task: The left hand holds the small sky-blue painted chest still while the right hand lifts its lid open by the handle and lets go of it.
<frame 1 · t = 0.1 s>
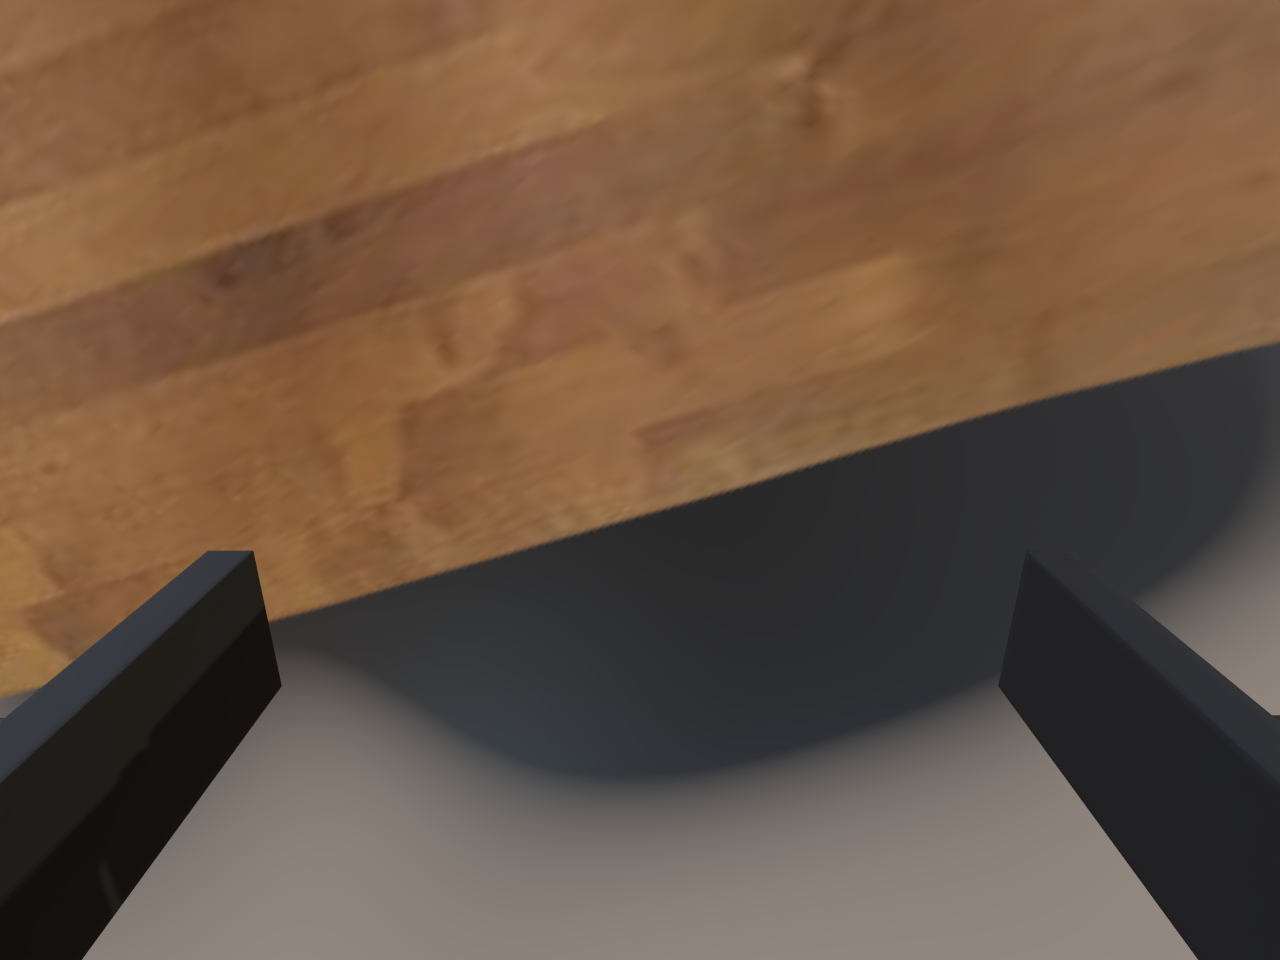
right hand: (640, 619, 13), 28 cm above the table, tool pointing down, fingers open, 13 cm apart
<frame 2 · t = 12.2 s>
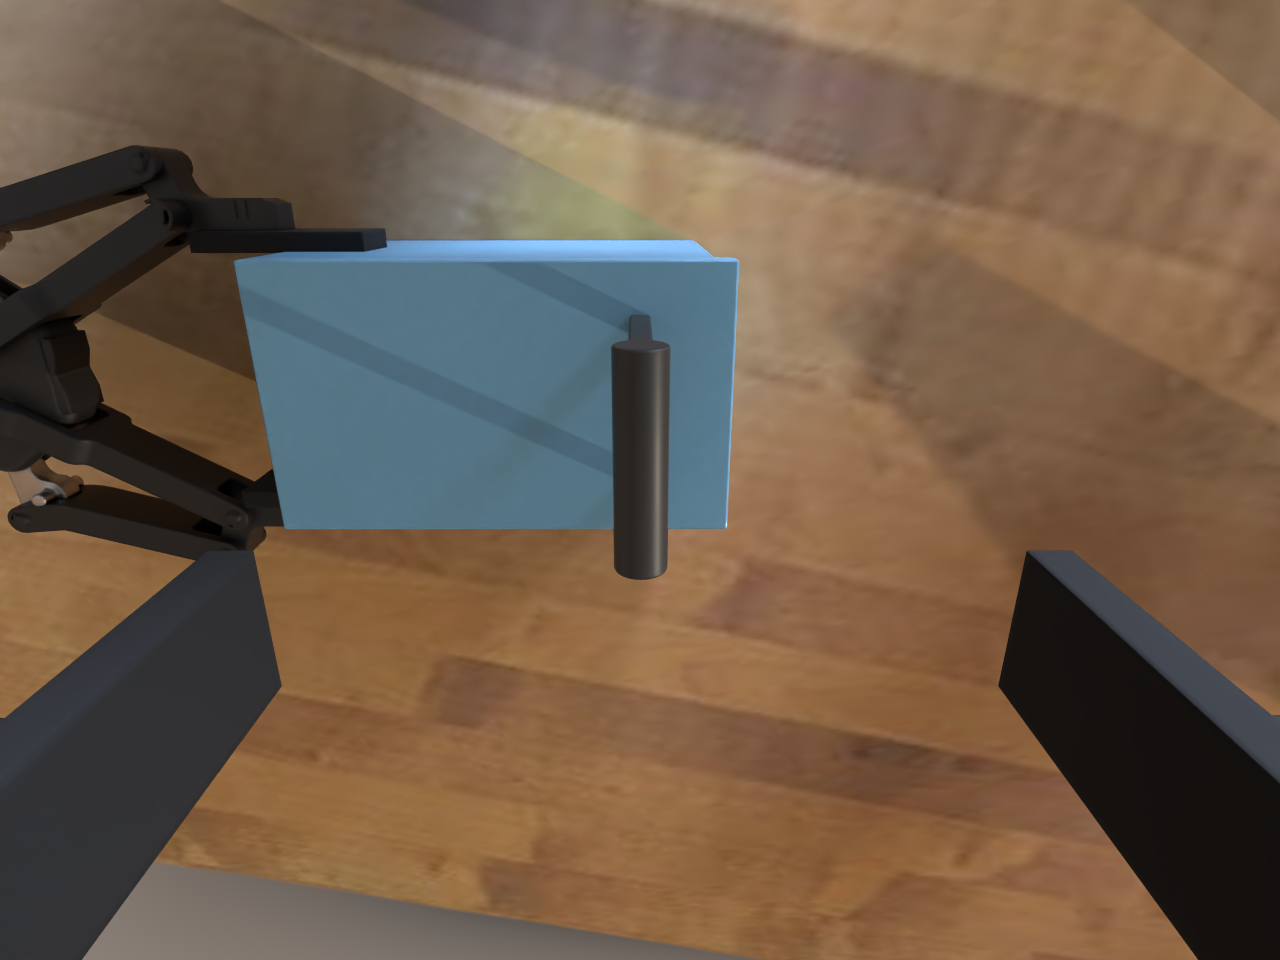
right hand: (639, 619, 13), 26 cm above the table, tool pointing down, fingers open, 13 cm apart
left hand: (391, 371, 31), fingers closed on chest, 10 cm apart
lid: (479, 428, 23), point 14 cm above the table, hinge at 0.0°
chest: (530, 343, 37), on the table, touching left hand
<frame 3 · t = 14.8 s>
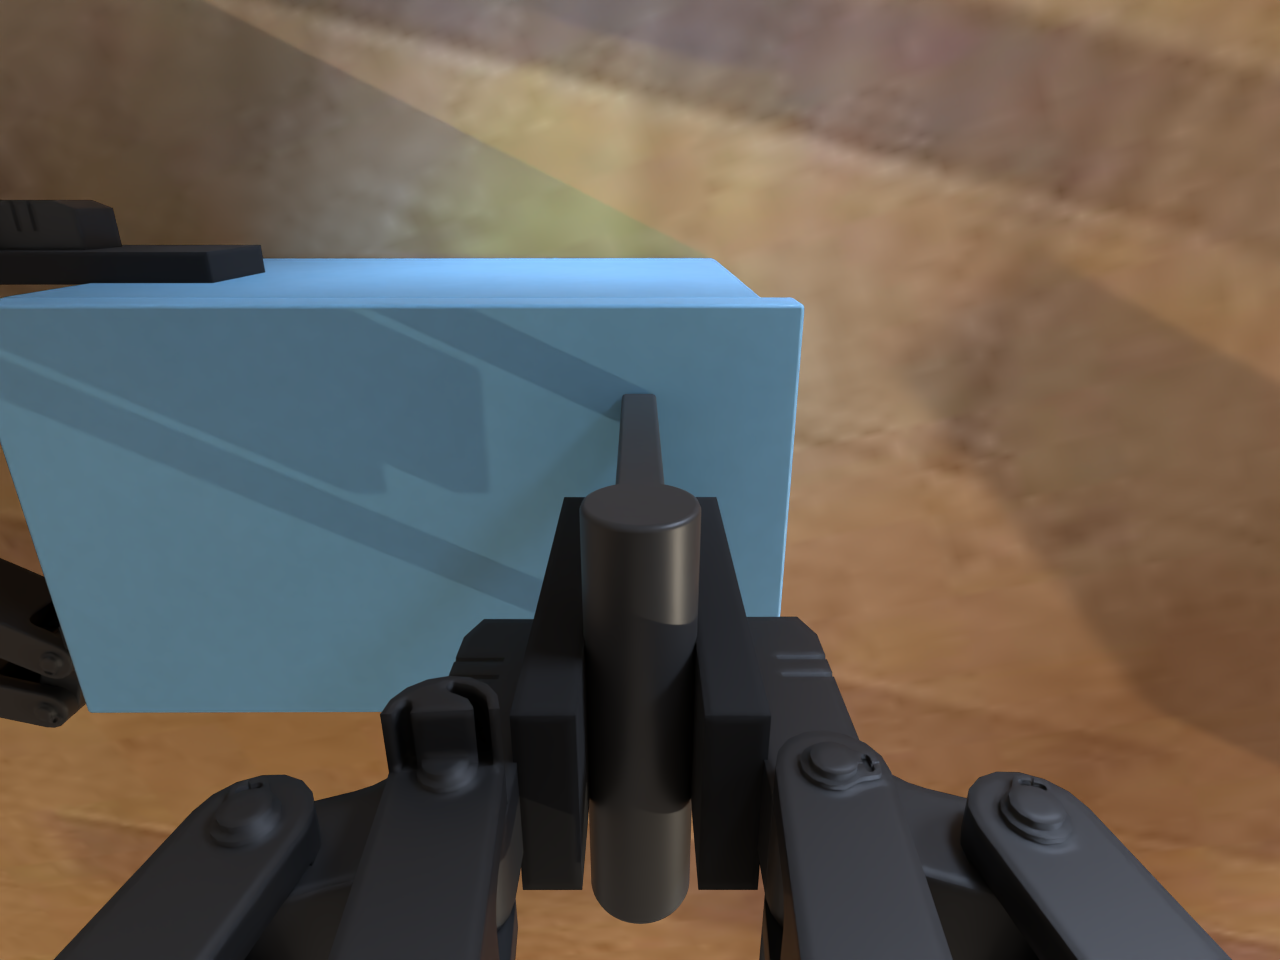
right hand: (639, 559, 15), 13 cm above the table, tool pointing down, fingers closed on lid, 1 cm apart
lid: (362, 598, 13), point 14 cm above the table, hinge at -0.1°, touching right hand
chest: (489, 397, 27), on the table, touching left hand
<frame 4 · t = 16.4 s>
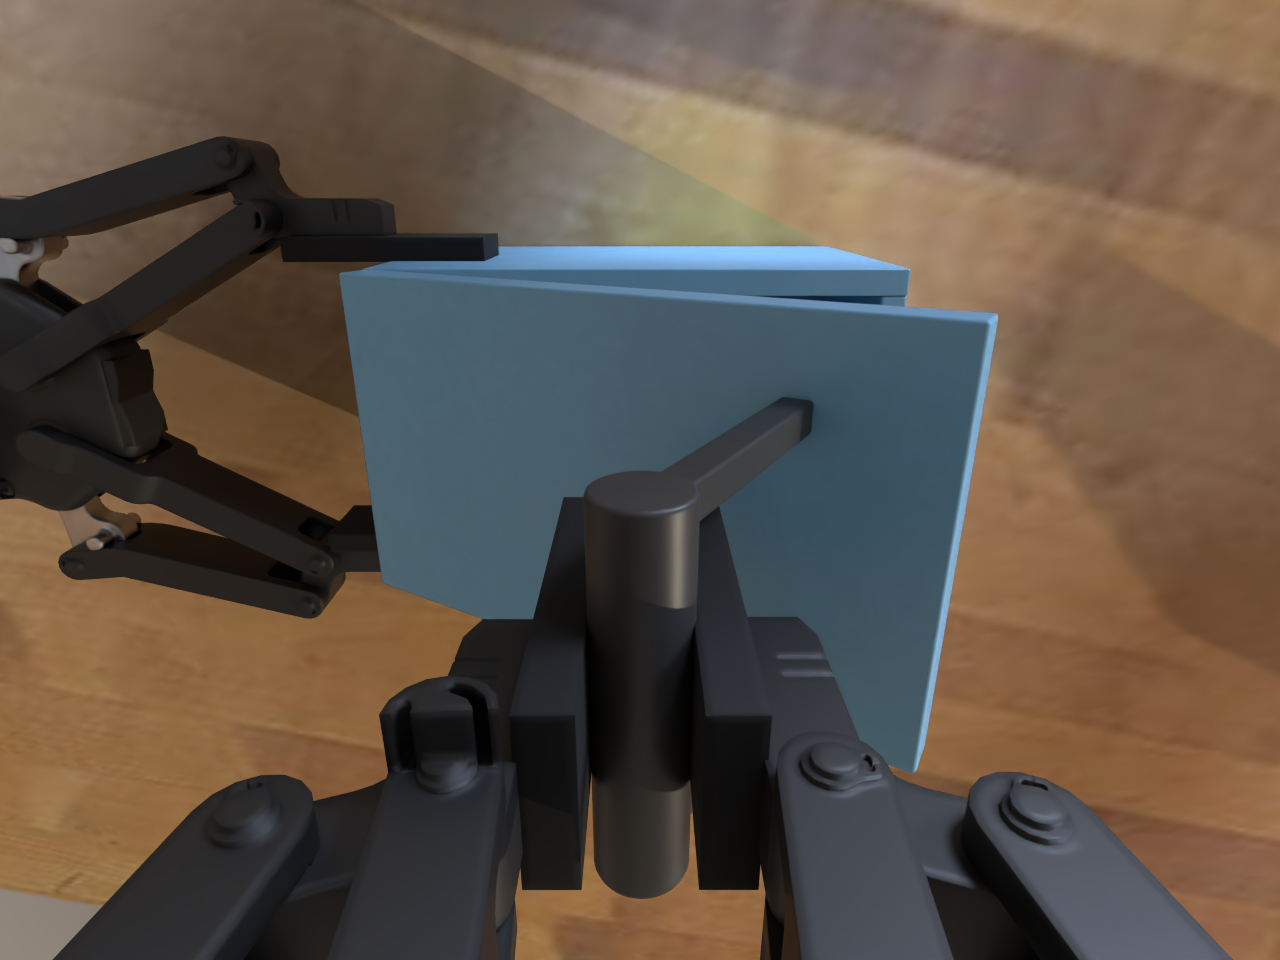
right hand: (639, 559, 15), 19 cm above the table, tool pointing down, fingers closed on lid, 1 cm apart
left hand: (501, 397, 27), fingers closed on chest, 10 cm apart
lid: (515, 537, 16), point 18 cm above the table, hinge at 30.7°, touching right hand
chest: (637, 361, 33), on the table, touching left hand
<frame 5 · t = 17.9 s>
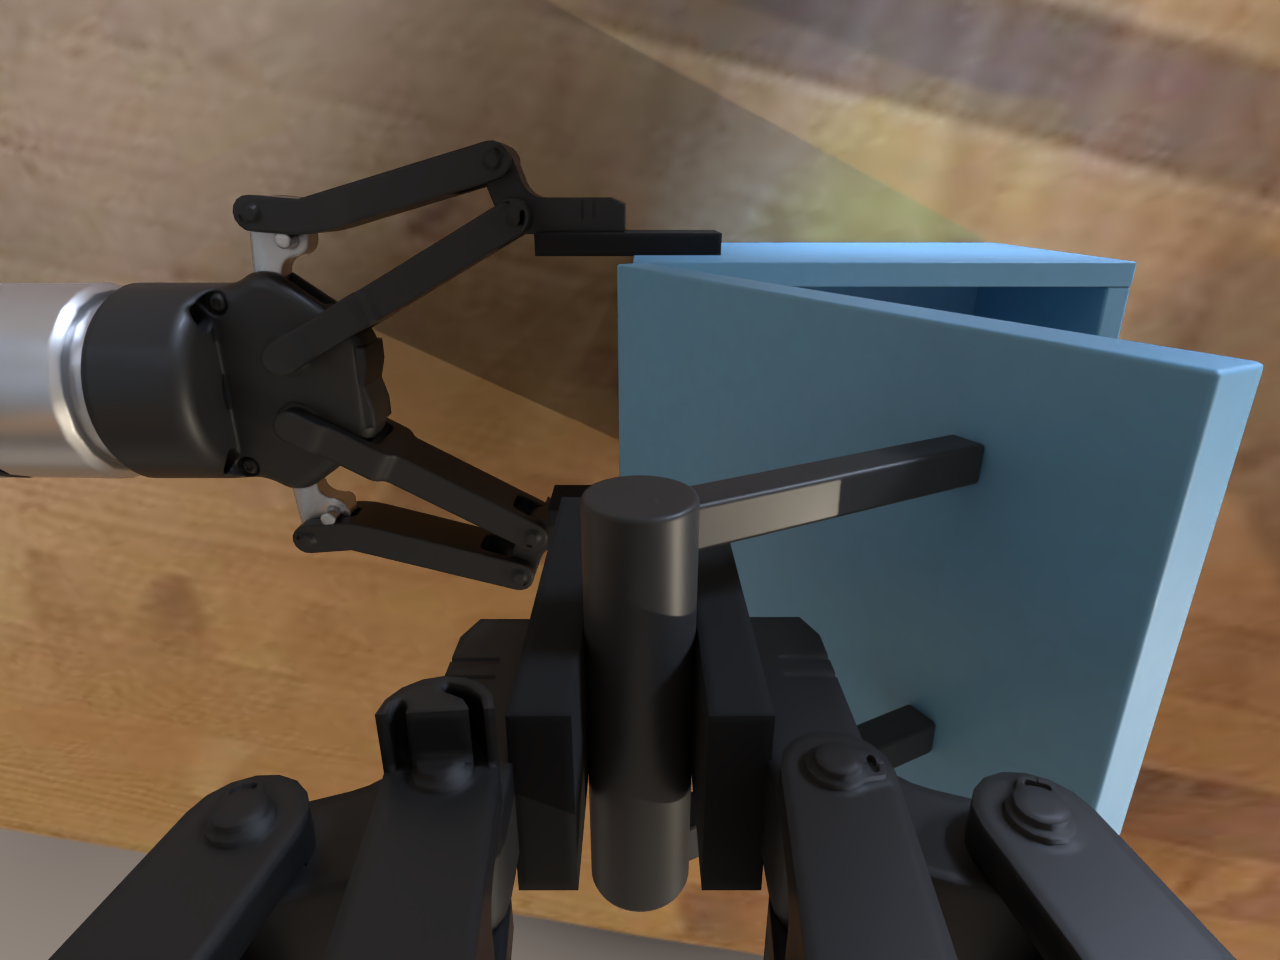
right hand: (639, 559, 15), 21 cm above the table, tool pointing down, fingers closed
left hand: (712, 382, 29), fingers closed on chest, 10 cm apart
lid: (664, 528, 16), point 20 cm above the table, hinge at 62.3°
chest: (805, 351, 35), on the table, touching left hand
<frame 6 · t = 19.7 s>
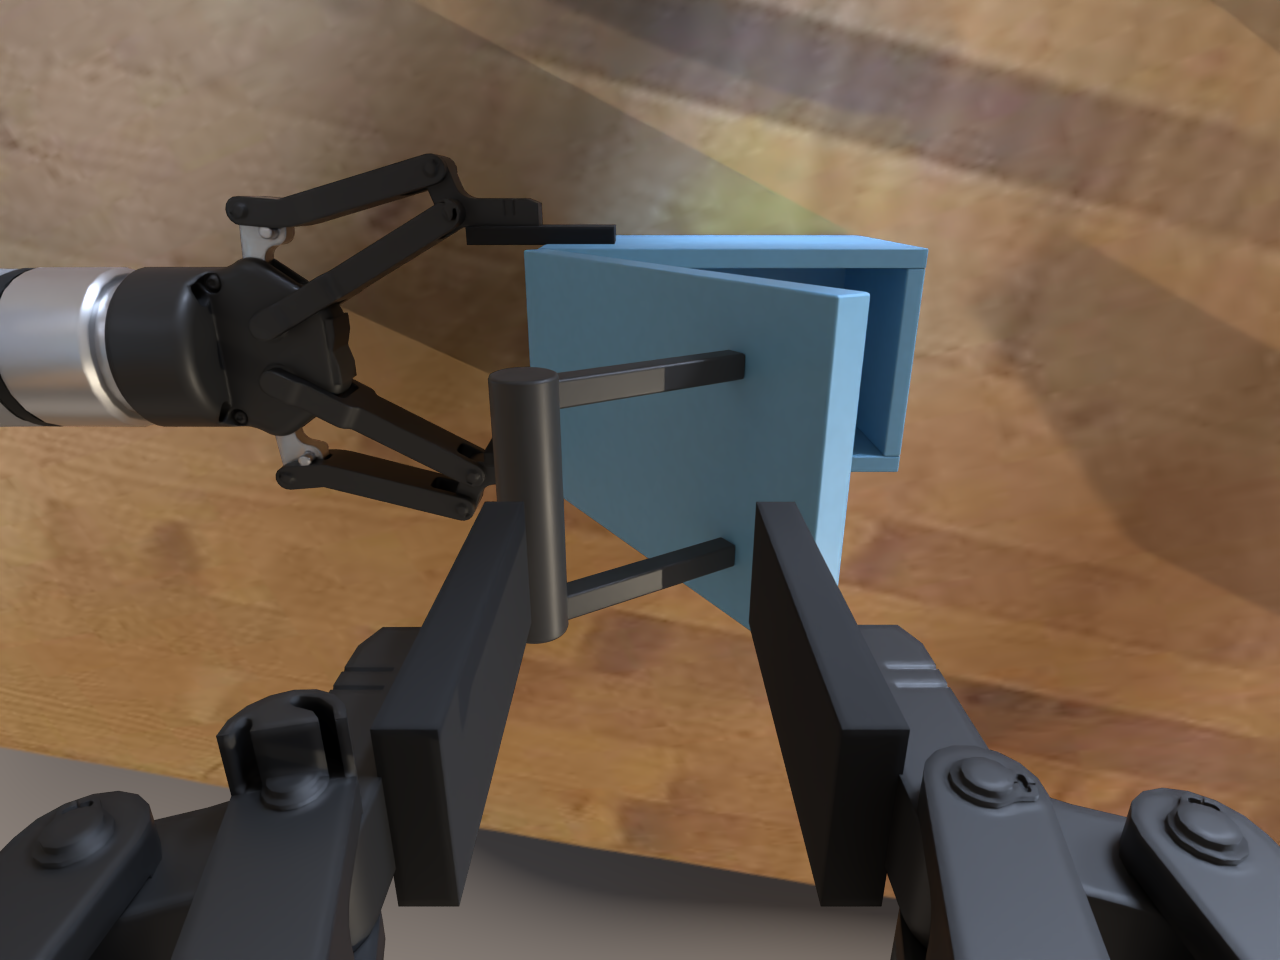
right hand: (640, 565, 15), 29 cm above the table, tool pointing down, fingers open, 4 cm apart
left hand: (616, 348, 36), fingers closed on chest, 10 cm apart
lid: (557, 432, 23), point 20 cm above the table, hinge at 57.4°
chest: (707, 326, 41), on the table, touching left hand
when the left hand's fingers open (6 cm above the table, at t = 22.1 s): chest stays where it is, on the table.
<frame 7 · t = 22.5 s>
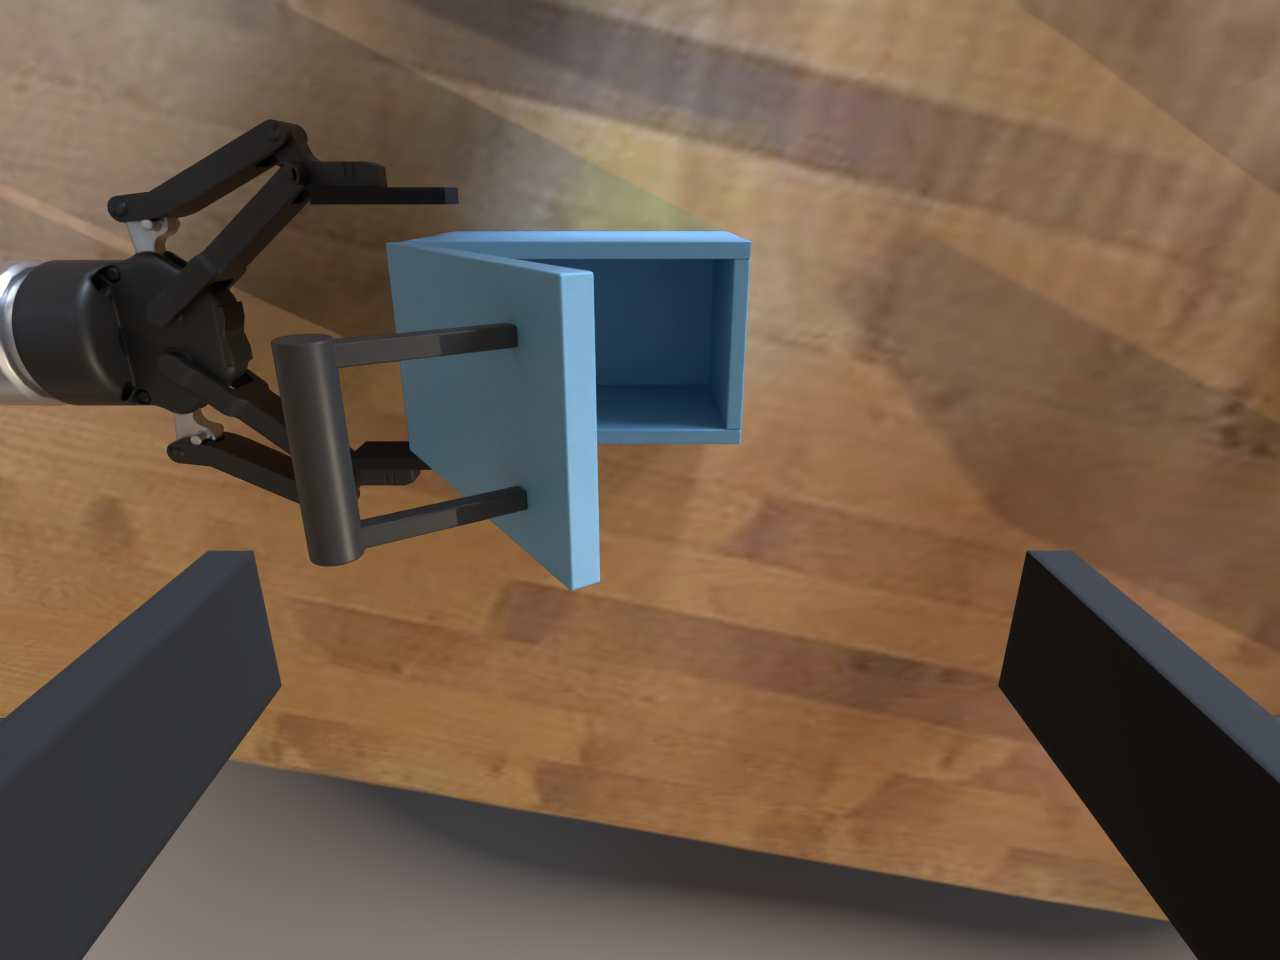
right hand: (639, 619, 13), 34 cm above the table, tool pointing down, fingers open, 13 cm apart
left hand: (464, 333, 39), fingers open, 13 cm apart
lid: (385, 398, 27), point 20 cm above the table, hinge at 56.7°
chest: (592, 315, 45), on the table
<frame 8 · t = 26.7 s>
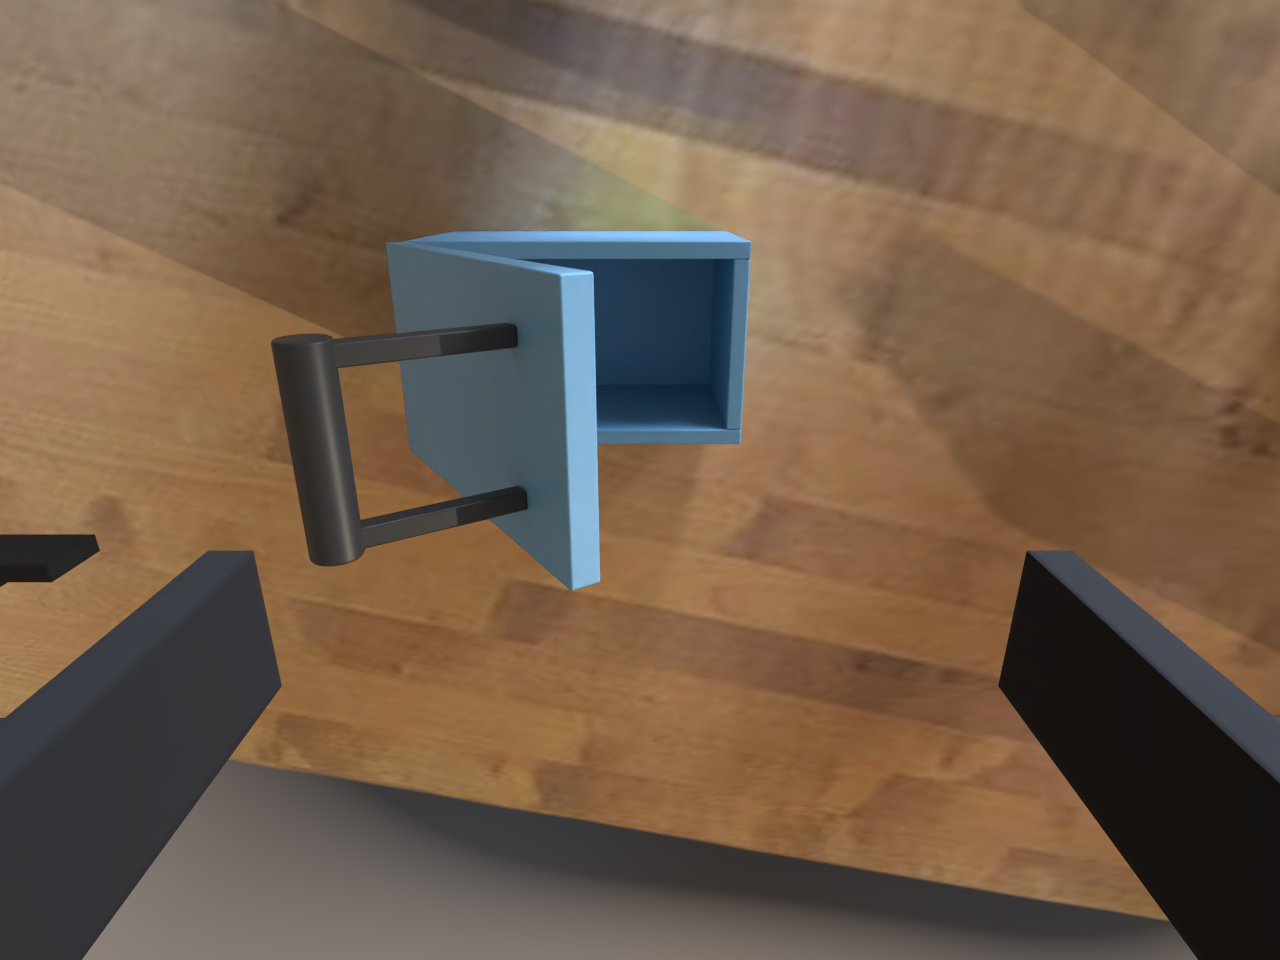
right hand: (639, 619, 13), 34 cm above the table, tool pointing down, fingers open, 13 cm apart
lid: (385, 398, 27), point 20 cm above the table, hinge at 56.7°
chest: (592, 315, 45), on the table
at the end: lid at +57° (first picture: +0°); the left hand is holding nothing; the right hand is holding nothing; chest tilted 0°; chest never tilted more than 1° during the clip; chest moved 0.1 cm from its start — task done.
